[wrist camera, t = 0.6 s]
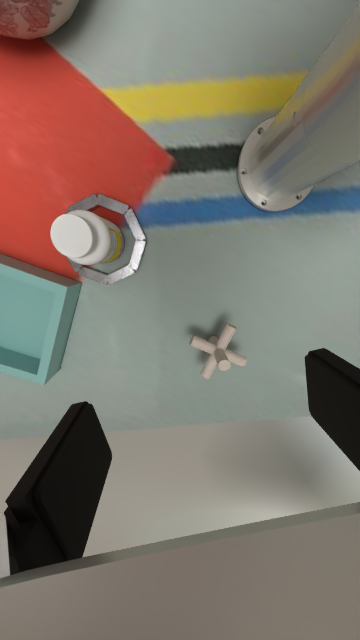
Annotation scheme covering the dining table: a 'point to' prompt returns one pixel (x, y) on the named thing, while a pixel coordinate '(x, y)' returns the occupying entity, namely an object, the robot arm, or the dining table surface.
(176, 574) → the robot arm
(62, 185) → the dining table surface
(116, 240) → the supplement bottle
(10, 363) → the bin
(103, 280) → the collar
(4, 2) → the chamber pot
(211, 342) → the pipe connector
